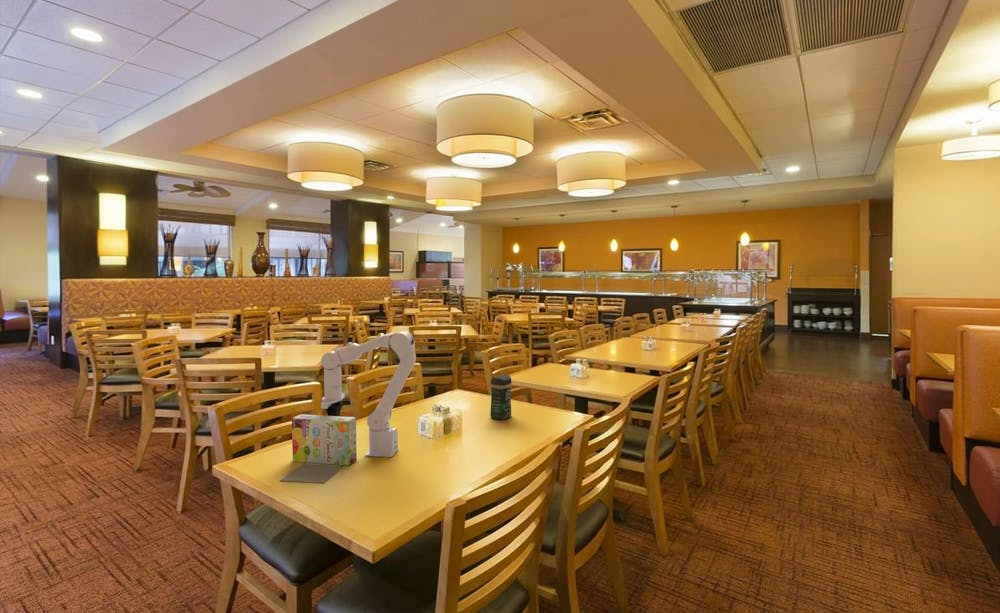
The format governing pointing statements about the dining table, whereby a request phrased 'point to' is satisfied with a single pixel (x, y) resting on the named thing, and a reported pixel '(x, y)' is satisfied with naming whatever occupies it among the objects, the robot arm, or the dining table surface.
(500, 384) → the coffee jar
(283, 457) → the dining table surface
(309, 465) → the mat
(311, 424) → the snack box
